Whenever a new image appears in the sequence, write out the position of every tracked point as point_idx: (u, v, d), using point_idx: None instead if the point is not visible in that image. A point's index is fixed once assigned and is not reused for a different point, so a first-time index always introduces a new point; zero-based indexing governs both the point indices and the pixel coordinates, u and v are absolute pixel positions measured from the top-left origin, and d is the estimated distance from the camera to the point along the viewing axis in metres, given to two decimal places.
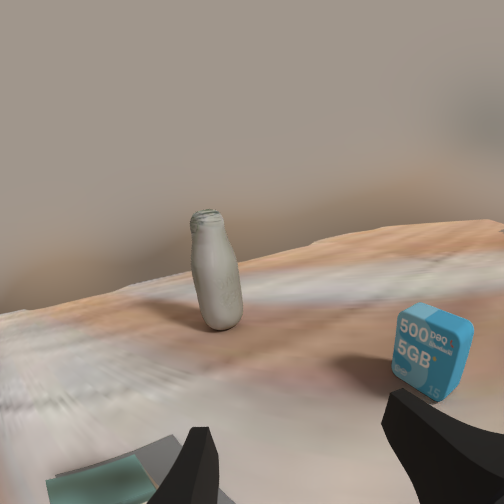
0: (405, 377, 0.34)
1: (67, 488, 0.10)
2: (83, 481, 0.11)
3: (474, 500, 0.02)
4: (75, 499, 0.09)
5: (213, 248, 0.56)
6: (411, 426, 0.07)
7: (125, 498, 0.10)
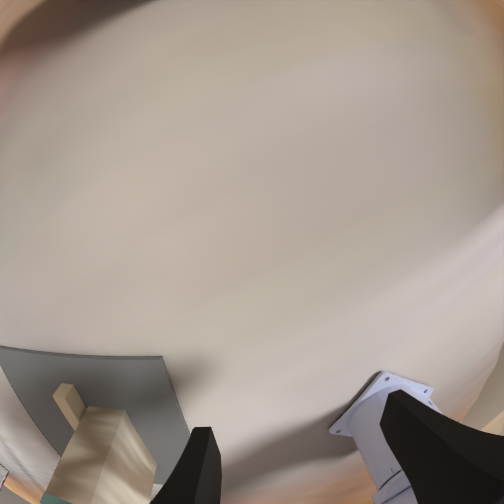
0: None
1: None
2: None
3: (472, 502, 0.02)
4: None
5: None
6: (409, 427, 0.07)
7: None
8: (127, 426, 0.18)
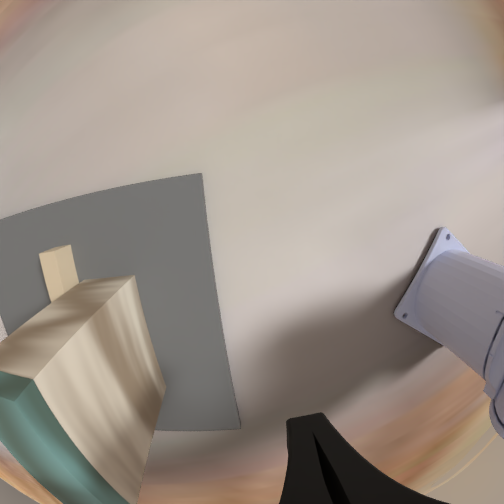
0: None
1: (66, 496, 0.06)
2: (42, 478, 0.05)
3: None
4: (83, 501, 0.05)
5: None
6: (319, 457, 0.07)
7: (53, 456, 0.05)
8: (133, 298, 0.15)
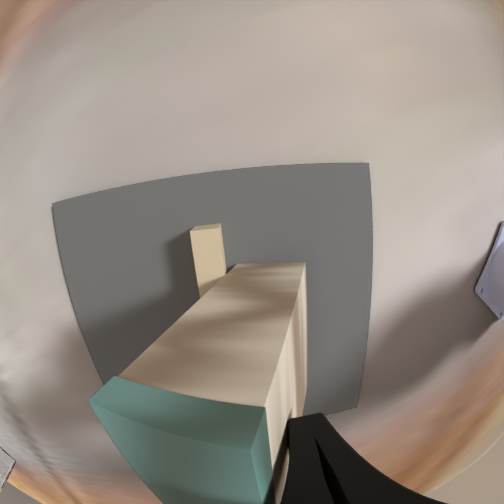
0: None
1: None
2: None
3: None
4: None
5: None
6: None
7: (256, 498, 0.04)
8: (304, 288, 0.14)
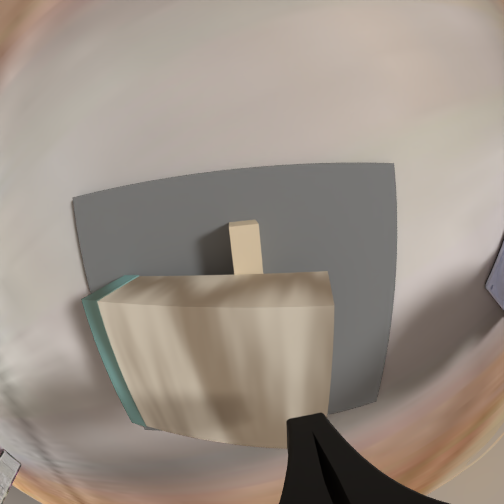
0: None
1: None
2: None
3: None
4: None
5: None
6: (319, 457, 0.07)
7: (96, 340, 0.13)
8: (306, 334, 0.10)
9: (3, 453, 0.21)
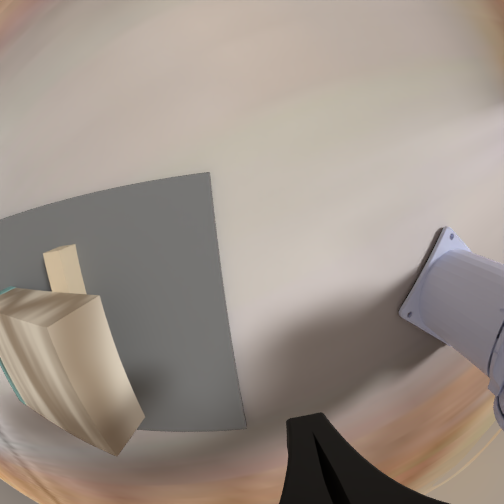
0: None
1: None
2: None
3: None
4: None
5: None
6: (319, 457, 0.07)
7: None
8: (45, 347, 0.09)
9: None
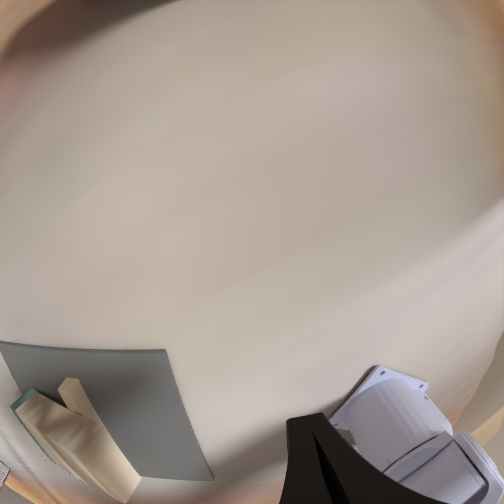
0: None
1: None
2: None
3: None
4: None
5: None
6: (319, 457, 0.07)
7: (21, 422, 0.15)
8: (77, 459, 0.13)
9: None
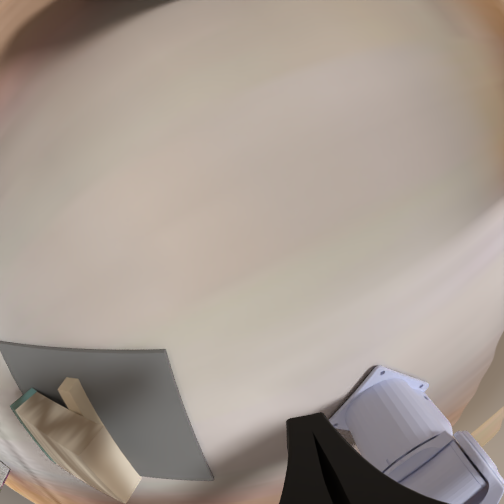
0: None
1: None
2: None
3: None
4: None
5: None
6: (319, 457, 0.07)
7: (21, 422, 0.15)
8: (77, 459, 0.13)
9: None
